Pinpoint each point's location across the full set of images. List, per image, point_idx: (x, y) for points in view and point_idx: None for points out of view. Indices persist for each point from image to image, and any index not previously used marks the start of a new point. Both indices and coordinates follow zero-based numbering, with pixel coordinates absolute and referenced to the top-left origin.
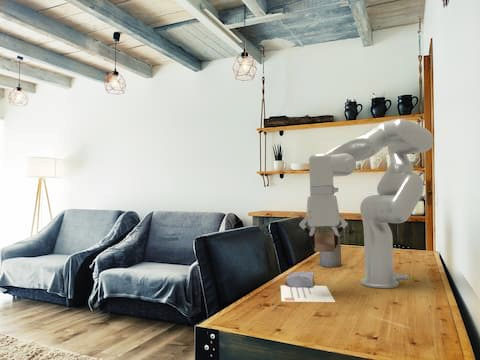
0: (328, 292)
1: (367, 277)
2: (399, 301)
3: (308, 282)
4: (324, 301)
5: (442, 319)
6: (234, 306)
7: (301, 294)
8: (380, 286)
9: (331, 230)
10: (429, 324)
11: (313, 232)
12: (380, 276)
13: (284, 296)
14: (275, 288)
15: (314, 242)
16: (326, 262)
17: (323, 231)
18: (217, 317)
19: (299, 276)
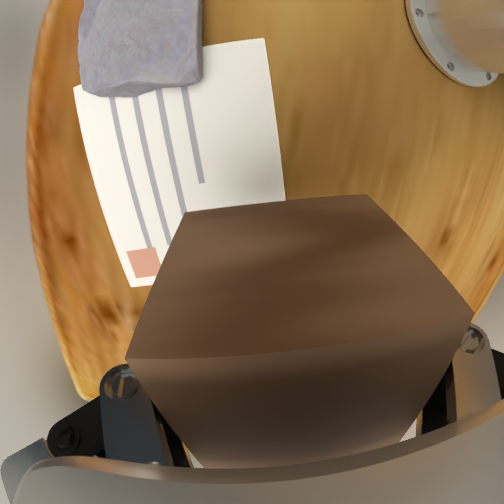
0: (273, 148)
1: (442, 28)
2: (458, 224)
3: (180, 86)
4: None
5: None
6: (58, 328)
7: (170, 200)
8: (460, 83)
9: (462, 330)
10: None
11: (184, 450)
12: (483, 69)
13: (121, 236)
14: (65, 134)
15: None
16: None
17: (311, 427)
18: (75, 376)
19: (130, 82)
